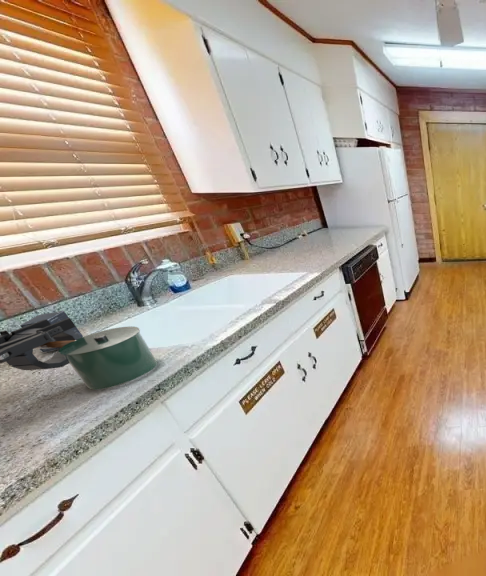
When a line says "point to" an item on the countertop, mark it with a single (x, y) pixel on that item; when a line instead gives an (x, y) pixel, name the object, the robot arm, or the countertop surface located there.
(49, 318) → the box
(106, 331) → the saucepan
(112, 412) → the countertop surface
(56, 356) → the tire
